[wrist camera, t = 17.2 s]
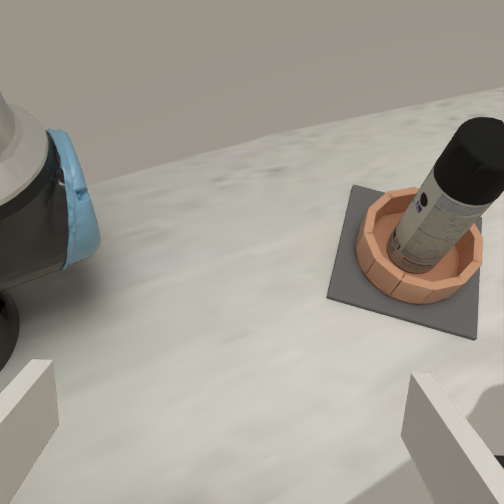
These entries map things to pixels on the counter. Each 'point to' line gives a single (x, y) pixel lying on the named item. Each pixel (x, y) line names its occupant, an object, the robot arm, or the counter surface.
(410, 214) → the spray can
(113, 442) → the counter surface
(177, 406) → the counter surface
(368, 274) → the bowl
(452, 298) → the mat
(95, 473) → the counter surface
